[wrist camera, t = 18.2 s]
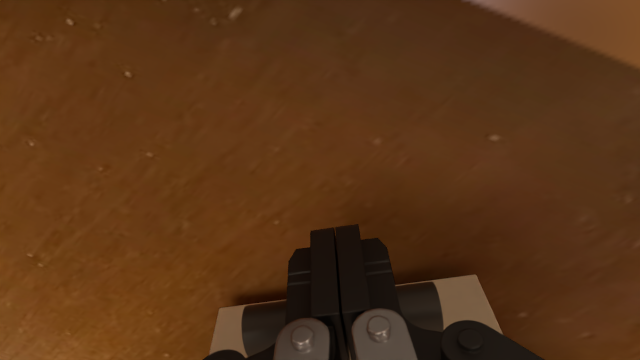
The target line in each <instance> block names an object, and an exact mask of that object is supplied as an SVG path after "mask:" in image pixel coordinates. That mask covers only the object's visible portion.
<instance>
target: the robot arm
mask: <svg viewBox="0 0 640 360" xmlns="http://www.w3.org/2000/svg"><path fill="white" fill-rule="evenodd" d="M335 230H336V237H335V231H334V228H327V229H320V230H313V231H311V232H310V247H309V248H302V249H296V250H295V252H294V253H293V255H292V257H291V258H290V260H289V265H288V282H287V285H288V287H287V299H286V316H285V326H284V327H283V328H282V329H281V331H280V332H279V334H278V336H277V339H276V342H275V343H274V344H273V345H272V346H270V347H269V348H267V349H265V350H263V351H261V352H259V353H256V354H254V355H252V356H249V357H247V358H245V357H244V356H243V354H241V353H240V352H238V351H236V350H230V349H226V350H220V351H217V352H214V353H212V354H210V355H208V356H207V357H205V358H204V359H203V360H350V357H351V360H544V359H542V358H541V357H539V356H537V355H536V354H534V353H532V352H531V351H529V350H527V349H526V348H524V347H522V346H521V345H519V344H517V343H516V342H514V341H512V340H511V339H509V338H507V337H506V336H504V335H503V334H501V333H499V332H498V331H496V330H494V329H493V328H491V327H489V326H487V325H486V324H484V323H481V322H478V321H473V320H462V321H457V322H454V323H452V324H450V325H449V326H447V327H446V328H445V329H444V331H443V332H439V331H432V330H426V329H422V328H419V327H417V326H415V325H413V324H412V323H410V322H409V321H408V320H407V319H406V318H405V317H404V315H403V313H402V311H401V308H400V304H399V299H398V295H397V291H396V286H395V282H394V277H393V273H392V268H391V264H390V259H389V255H388V251H387V247H386V246H385V245H384V244H383V243H382V242H381V241H380V240H379V239H378V238H372V239H365V240H361V239H360V233H359V226H358V224H354V225H347V226H340V227H335ZM349 351H350V354H349Z"/></svg>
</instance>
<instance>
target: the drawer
mask: <svg viewBox="0 0 640 360" xmlns="http://www.w3.org/2000/svg"><path fill="white" fill-rule="evenodd" d="M395 286H396V291H397V295H398V299H399V304H400V308H401V311H402V313H403V315H404V317H405V318H406V319H407V320H408V321H409V322H410V323H412V324H413V325H415V326H417V327H419V328H422V329H426V330H432V331H439V332H443V331H444V329H445V328H446V327H447V326H449V325H450V324H452V323H454V322H457V321H462V320H473V321H478V322H481V323H484V324H486V325H487V326H489V327H491V328H493V329H494V330H496V331H498V332H499V333H501V334H503V333H502V331H501V329H500V327H499V324H498V322H497V320H496V318H495V316H494V313H493V311H492V309H491V307H490V305H489V302H488V300H487V298H486V296H485V293H484V291H483V289H482V287H481V285H480V282H479V280H478V278H477V276H476V275H468V276H460V277H453V278H445V279H437V280H430V281H422V282H414V283H407V284H399V285H395ZM285 316H286V299H285V300H277V301H270V302H262V303H254V304H247V305H239V306H232V307H224V308H219V312H218V317H217V321H216V326H215V330H214V335H213V339H212V344H211V348H210V353H209V355H210V354H212V353H214V352H217V351H220V350H226V349H230V350H236V351H238V352H240V353H241V354H243V356H244V357H245V358H247V357H249V356H252V355H254V354H256V353H259V352H261V351H263V350H265V349H267V348H269V347H270V346H272V345H273V344H274V343H275V342H276V339H277V336H278V334H279V332H280V331H281V329H282V328H283V327H284V326H285ZM349 354H350V351H349ZM350 360H351V357H350Z"/></svg>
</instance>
